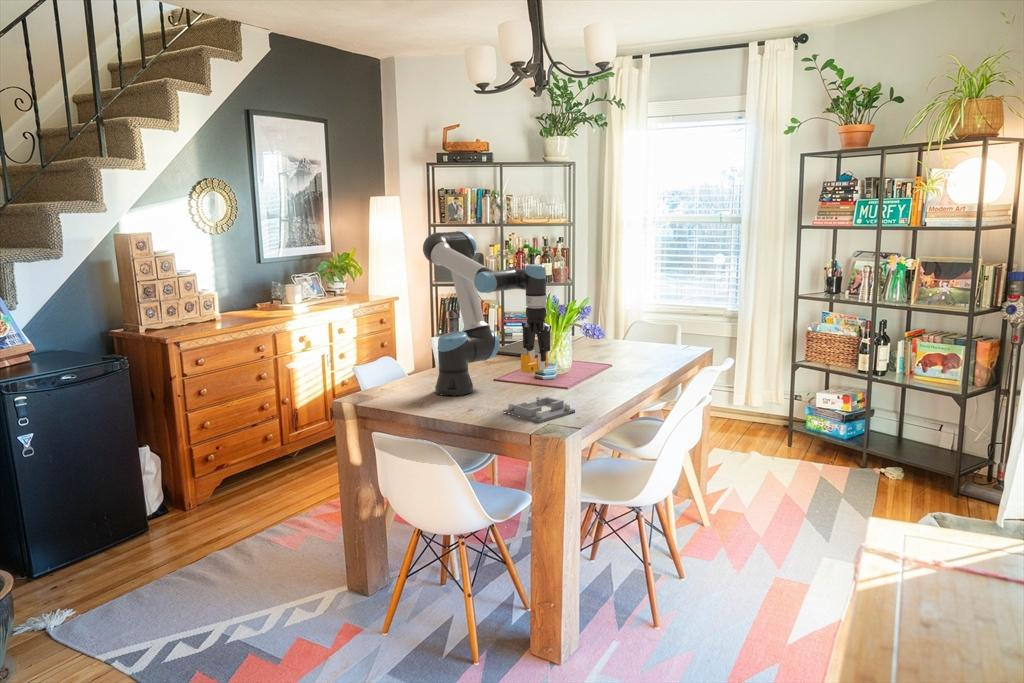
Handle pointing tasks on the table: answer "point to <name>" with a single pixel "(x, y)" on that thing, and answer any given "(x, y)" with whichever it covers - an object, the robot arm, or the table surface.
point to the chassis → (540, 409)
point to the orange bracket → (531, 363)
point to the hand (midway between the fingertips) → (536, 368)
